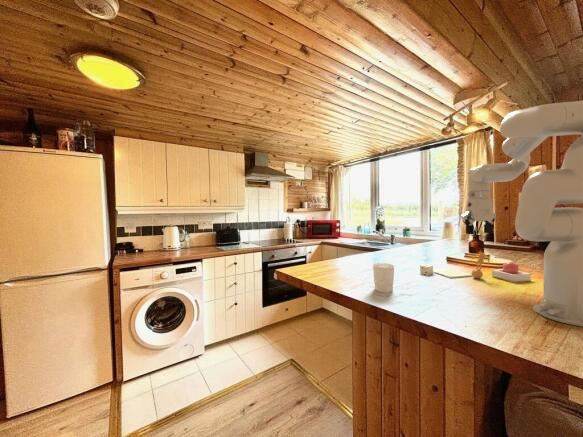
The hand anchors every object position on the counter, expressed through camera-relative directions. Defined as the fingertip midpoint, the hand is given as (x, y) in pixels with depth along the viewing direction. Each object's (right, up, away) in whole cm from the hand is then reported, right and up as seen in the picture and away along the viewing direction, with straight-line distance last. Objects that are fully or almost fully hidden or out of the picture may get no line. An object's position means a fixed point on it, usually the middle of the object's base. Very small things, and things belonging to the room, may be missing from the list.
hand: (478, 233), depth 105 cm
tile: (-7, -20, +8) cm, 23 cm away
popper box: (+13, -20, -1) cm, 24 cm away
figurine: (+1, -20, +1) cm, 20 cm away
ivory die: (-17, -20, +11) cm, 29 cm away
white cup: (-47, -22, -11) cm, 53 cm away
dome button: (+13, -18, -1) cm, 22 cm away
